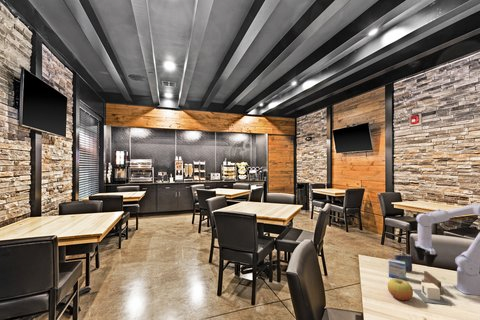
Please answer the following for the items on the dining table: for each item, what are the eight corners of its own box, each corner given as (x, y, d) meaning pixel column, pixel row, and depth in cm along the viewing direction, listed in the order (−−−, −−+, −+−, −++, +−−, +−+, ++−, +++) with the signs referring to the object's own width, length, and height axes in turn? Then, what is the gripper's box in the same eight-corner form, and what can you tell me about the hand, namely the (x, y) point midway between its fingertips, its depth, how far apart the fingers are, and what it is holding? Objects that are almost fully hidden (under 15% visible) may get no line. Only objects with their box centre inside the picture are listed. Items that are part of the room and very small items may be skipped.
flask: (395, 270, 136) (394, 251, 136) (393, 268, 139) (392, 250, 139) (413, 271, 134) (412, 253, 134) (410, 269, 136) (410, 251, 137)
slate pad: (435, 292, 112) (435, 291, 112) (451, 305, 102) (451, 304, 102) (412, 289, 114) (412, 288, 114) (425, 302, 104) (425, 301, 104)
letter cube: (433, 293, 110) (433, 283, 110) (440, 299, 105) (439, 288, 105) (420, 292, 111) (420, 282, 111) (427, 298, 106) (426, 287, 106)
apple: (412, 306, 101) (411, 287, 101) (386, 298, 107) (385, 280, 108) (414, 296, 108) (413, 279, 109) (389, 289, 115) (389, 273, 115)
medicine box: (388, 276, 128) (388, 261, 128) (388, 273, 132) (388, 258, 132) (406, 280, 124) (405, 264, 124) (405, 277, 127) (405, 261, 128)
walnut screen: (428, 281, 123) (427, 270, 123) (444, 294, 110) (444, 283, 110) (421, 280, 123) (421, 270, 123) (437, 294, 110) (436, 282, 111)
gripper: (408, 232, 129) (409, 257, 129) (423, 241, 115) (424, 268, 115) (423, 233, 128) (423, 258, 127) (440, 241, 113) (440, 269, 113)
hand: (425, 263), depth 121 cm, fingers open, 7 cm apart
